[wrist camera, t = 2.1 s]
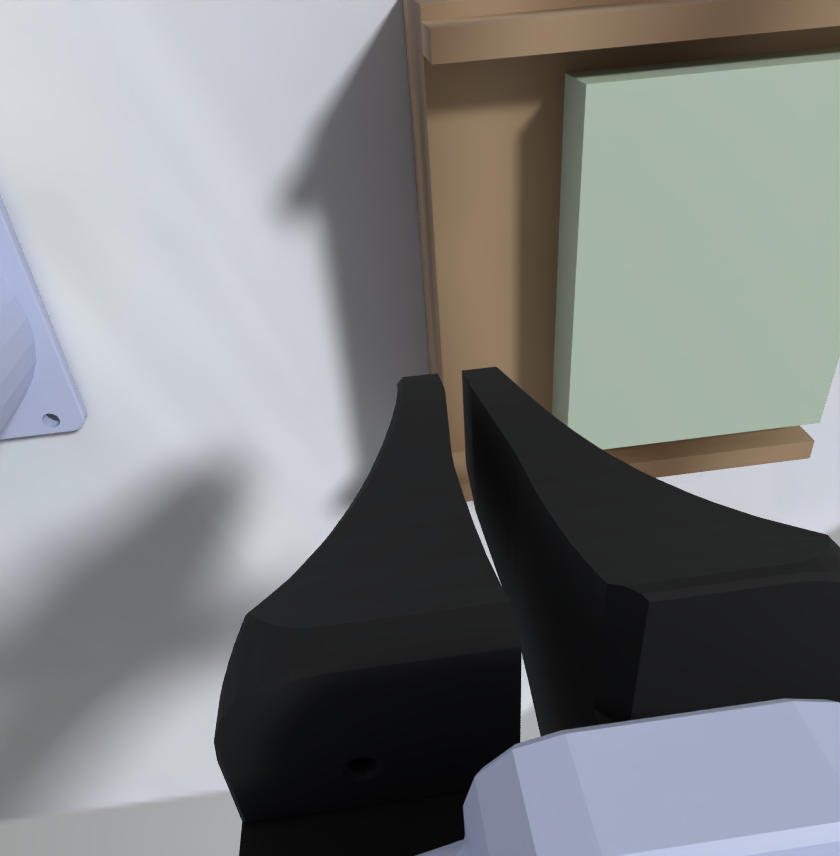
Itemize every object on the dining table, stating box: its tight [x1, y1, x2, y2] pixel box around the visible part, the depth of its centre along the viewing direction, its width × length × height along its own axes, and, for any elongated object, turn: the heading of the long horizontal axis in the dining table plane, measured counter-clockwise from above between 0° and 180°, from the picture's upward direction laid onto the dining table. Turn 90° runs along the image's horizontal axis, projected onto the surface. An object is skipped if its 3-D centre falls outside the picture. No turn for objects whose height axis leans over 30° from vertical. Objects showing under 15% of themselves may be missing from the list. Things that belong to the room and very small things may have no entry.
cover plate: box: [552, 46, 840, 450], centre depth 17 cm, size 7×9×2 cm
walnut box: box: [403, 0, 840, 501], centre depth 19 cm, size 10×12×6 cm
